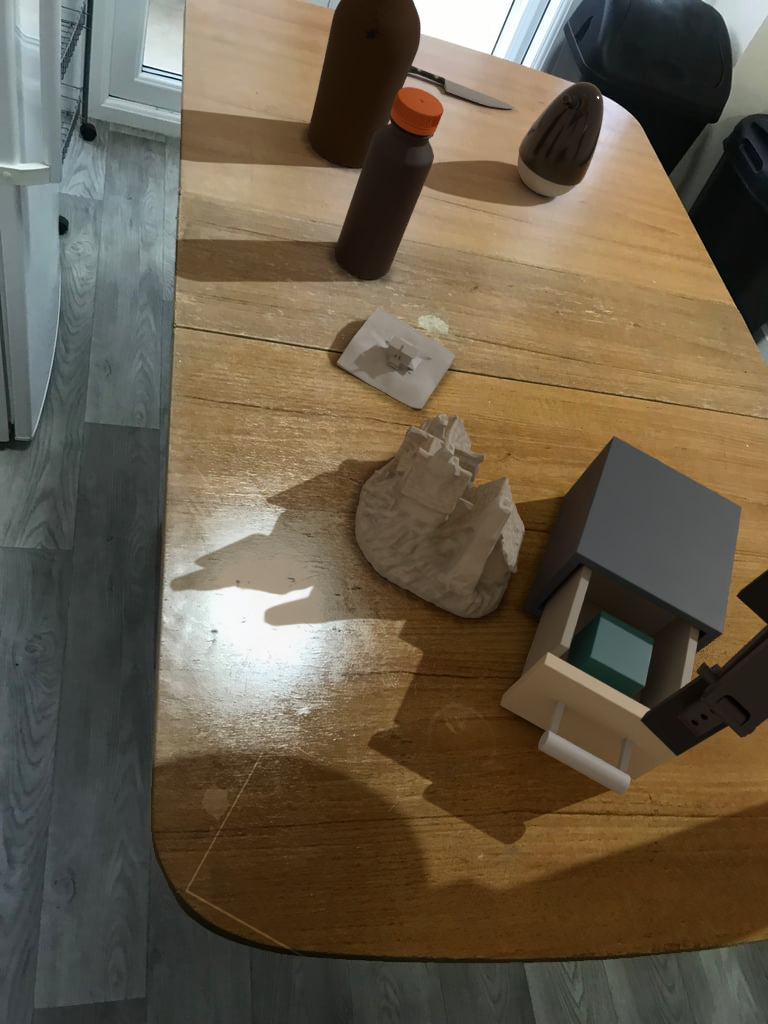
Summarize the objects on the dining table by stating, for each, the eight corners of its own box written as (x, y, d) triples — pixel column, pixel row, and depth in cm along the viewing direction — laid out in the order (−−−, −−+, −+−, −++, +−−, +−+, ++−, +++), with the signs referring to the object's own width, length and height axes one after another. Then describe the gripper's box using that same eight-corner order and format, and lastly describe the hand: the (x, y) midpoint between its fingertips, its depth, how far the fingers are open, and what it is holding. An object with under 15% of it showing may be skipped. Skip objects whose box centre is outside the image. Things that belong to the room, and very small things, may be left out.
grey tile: (331, 378, 85) (341, 352, 83) (353, 311, 93) (363, 285, 90) (440, 419, 87) (454, 394, 84) (453, 350, 94) (466, 325, 91)
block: (623, 664, 74) (654, 638, 70) (612, 711, 70) (645, 687, 66) (573, 637, 74) (602, 609, 70) (560, 682, 70) (589, 656, 66)
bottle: (345, 234, 100) (400, 72, 85) (396, 259, 101) (460, 103, 85) (325, 262, 96) (379, 97, 81) (378, 289, 96) (442, 130, 81)
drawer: (624, 829, 66) (683, 798, 60) (483, 750, 66) (528, 712, 60) (662, 643, 78) (715, 602, 72) (544, 577, 78) (586, 530, 72)
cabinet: (656, 683, 76) (723, 634, 69) (523, 609, 76) (576, 551, 69) (681, 561, 86) (742, 506, 79) (564, 495, 86) (614, 435, 79)
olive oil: (389, 174, 111) (462, -25, 92) (314, 167, 106) (374, -44, 87) (365, 126, 116) (429, -72, 97) (293, 118, 112) (345, -92, 92)
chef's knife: (515, 119, 132) (515, 108, 134) (518, 113, 131) (518, 102, 133) (401, 78, 128) (402, 67, 129) (403, 71, 127) (404, 60, 128)
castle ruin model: (479, 641, 72) (559, 535, 62) (320, 539, 74) (371, 419, 63) (536, 534, 83) (613, 428, 72) (396, 447, 85) (451, 332, 74)
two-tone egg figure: (493, 169, 121) (541, 66, 109) (536, 158, 127) (586, 59, 115) (542, 213, 118) (597, 113, 106) (583, 200, 124) (640, 103, 112)
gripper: (1048, 688, 27) (667, 857, 43) (1134, 398, 42) (828, 603, 58) (855, 526, 28) (559, 746, 45) (1005, 303, 44) (743, 528, 60)
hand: (711, 666), depth 51 cm, fingers open, 13 cm apart
